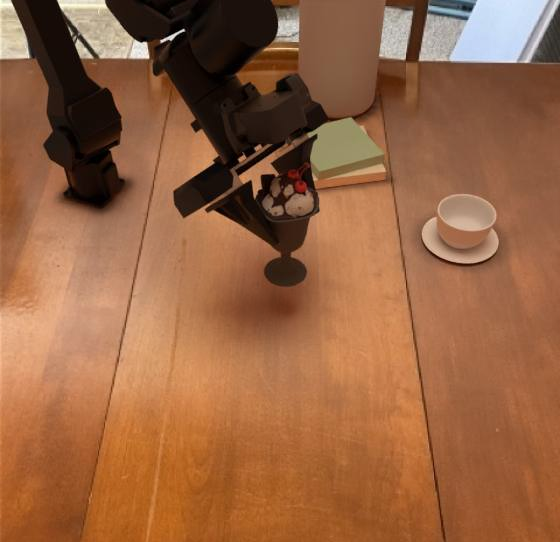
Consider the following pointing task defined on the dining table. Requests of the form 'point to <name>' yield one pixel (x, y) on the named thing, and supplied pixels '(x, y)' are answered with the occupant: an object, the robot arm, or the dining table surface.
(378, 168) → the block stack
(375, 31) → the cylinder vase
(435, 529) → the dining table surface
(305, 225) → the sundae
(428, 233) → the teacup
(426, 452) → the dining table surface
